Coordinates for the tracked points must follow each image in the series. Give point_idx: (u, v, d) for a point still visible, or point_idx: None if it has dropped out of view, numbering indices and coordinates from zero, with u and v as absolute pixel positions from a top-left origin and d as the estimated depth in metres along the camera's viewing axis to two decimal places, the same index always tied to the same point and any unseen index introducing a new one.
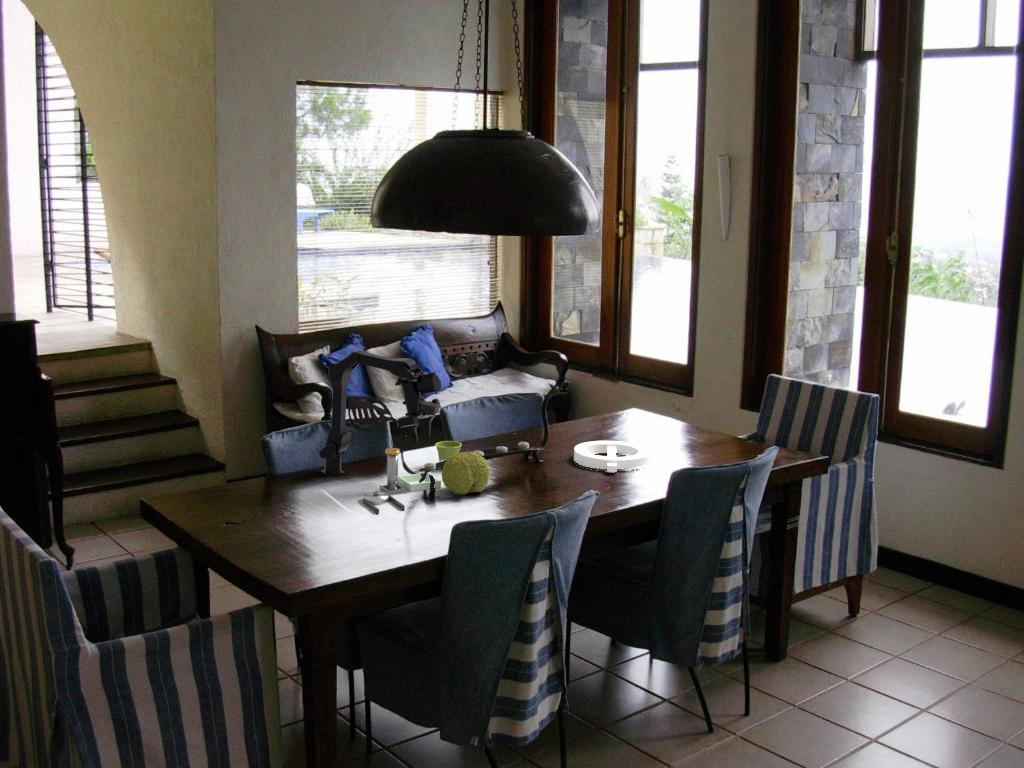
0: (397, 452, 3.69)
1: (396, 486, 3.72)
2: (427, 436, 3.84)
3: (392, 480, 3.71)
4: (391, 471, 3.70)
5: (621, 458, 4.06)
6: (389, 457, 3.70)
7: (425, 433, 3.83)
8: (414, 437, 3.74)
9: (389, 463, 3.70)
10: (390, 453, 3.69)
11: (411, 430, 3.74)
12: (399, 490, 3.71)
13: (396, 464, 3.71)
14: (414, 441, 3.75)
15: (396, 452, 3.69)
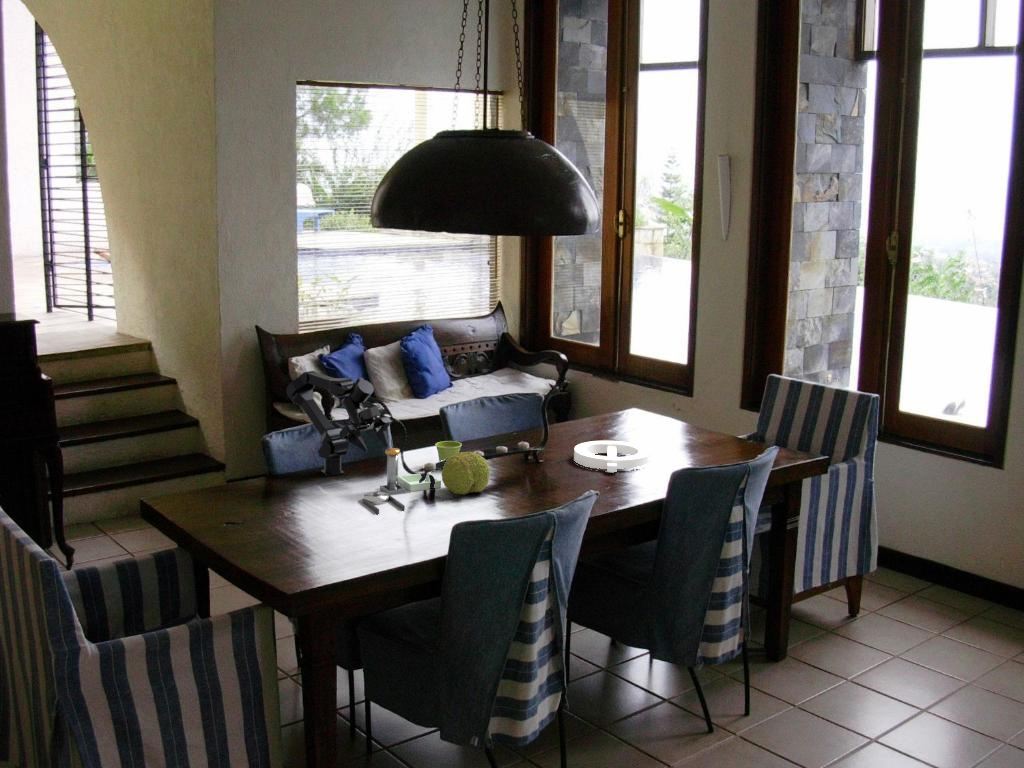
0: (397, 452, 3.69)
1: (396, 486, 3.72)
2: (386, 445, 3.80)
3: (392, 480, 3.71)
4: (391, 471, 3.70)
5: (621, 458, 4.06)
6: (389, 457, 3.70)
7: (384, 443, 3.80)
8: (361, 444, 3.73)
9: (389, 463, 3.70)
10: (390, 453, 3.69)
11: (356, 439, 3.74)
12: (399, 490, 3.71)
13: (396, 464, 3.71)
14: (363, 449, 3.73)
15: (396, 452, 3.69)
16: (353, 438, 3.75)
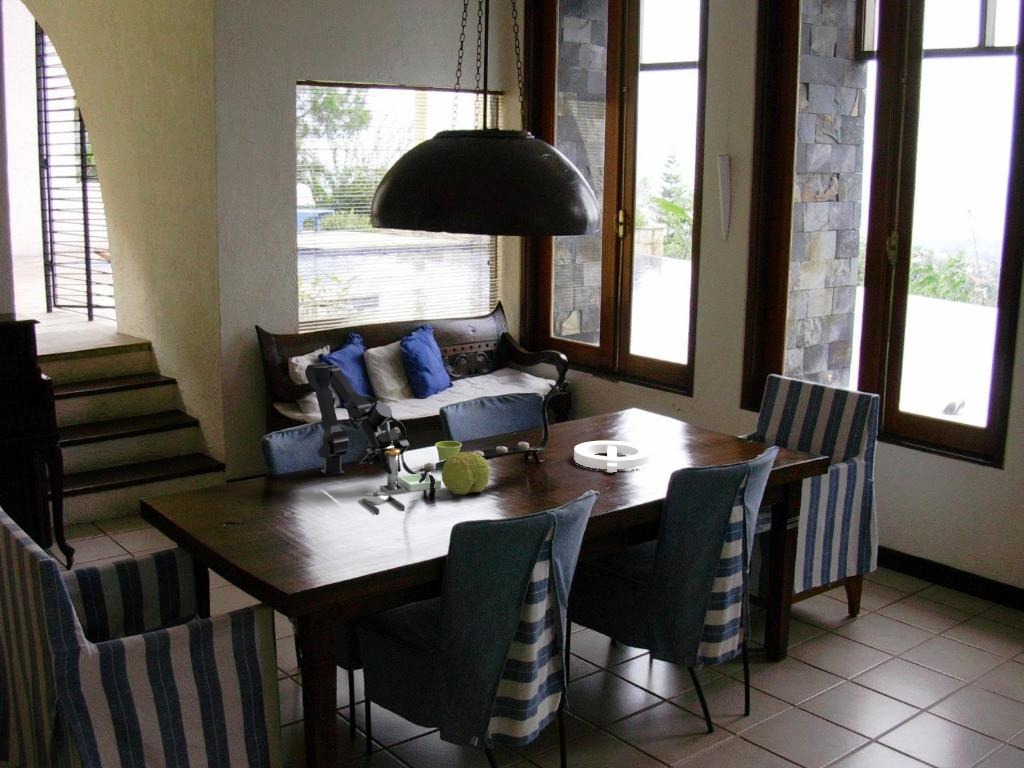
0: (397, 452, 3.69)
1: (396, 486, 3.72)
2: (398, 470, 3.73)
3: (392, 480, 3.71)
4: (391, 471, 3.70)
5: (621, 458, 4.06)
6: (389, 457, 3.70)
7: None
8: (385, 467, 3.70)
9: (389, 463, 3.70)
10: (390, 453, 3.69)
11: (381, 461, 3.71)
12: (399, 490, 3.71)
13: (396, 464, 3.71)
14: (387, 471, 3.70)
15: (396, 452, 3.69)
16: (377, 460, 3.71)
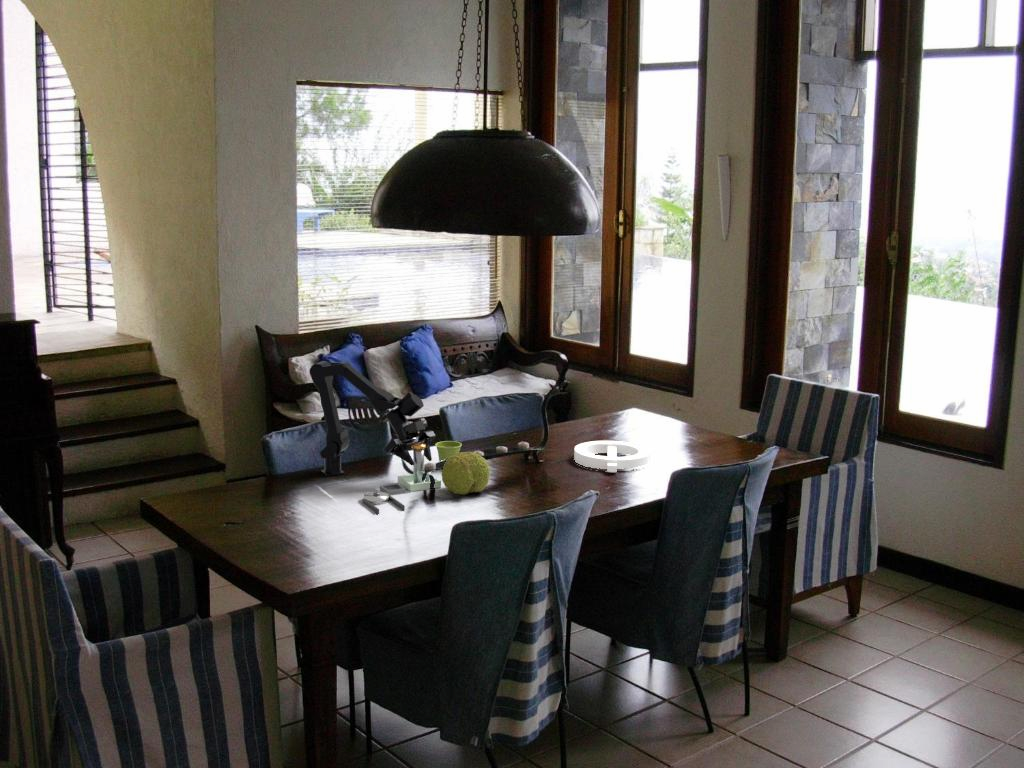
0: (423, 447, 3.76)
1: None
2: (429, 459, 3.81)
3: (418, 474, 3.78)
4: (417, 465, 3.77)
5: (621, 458, 4.06)
6: (415, 452, 3.76)
7: (427, 457, 3.81)
8: (408, 458, 3.75)
9: (415, 457, 3.77)
10: (416, 448, 3.75)
11: (403, 453, 3.76)
12: (399, 490, 3.71)
13: (422, 458, 3.77)
14: (410, 462, 3.75)
15: (422, 447, 3.76)
16: (400, 452, 3.76)
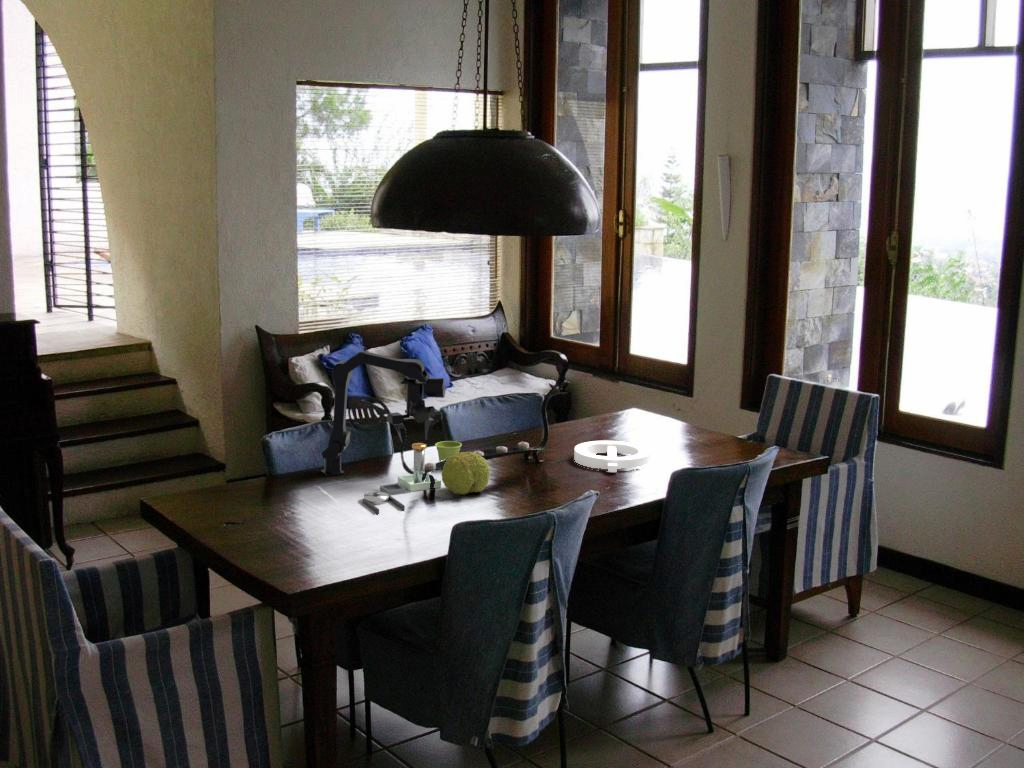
0: (424, 447, 3.76)
1: None
2: (426, 437, 3.92)
3: (419, 474, 3.78)
4: (418, 465, 3.77)
5: (621, 458, 4.06)
6: (416, 452, 3.76)
7: (425, 434, 3.92)
8: (400, 435, 3.86)
9: (416, 458, 3.77)
10: (417, 448, 3.75)
11: (399, 428, 3.86)
12: (399, 490, 3.71)
13: (422, 459, 3.77)
14: (400, 438, 3.87)
15: (423, 447, 3.75)
16: None
